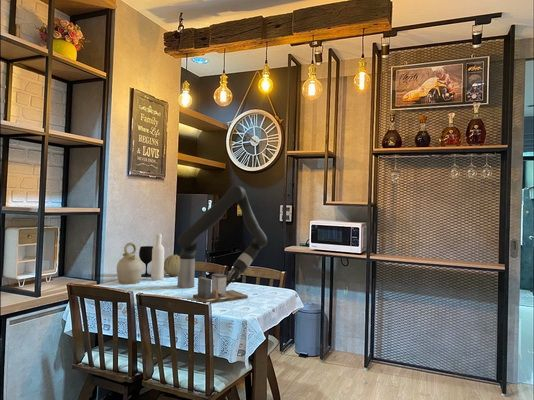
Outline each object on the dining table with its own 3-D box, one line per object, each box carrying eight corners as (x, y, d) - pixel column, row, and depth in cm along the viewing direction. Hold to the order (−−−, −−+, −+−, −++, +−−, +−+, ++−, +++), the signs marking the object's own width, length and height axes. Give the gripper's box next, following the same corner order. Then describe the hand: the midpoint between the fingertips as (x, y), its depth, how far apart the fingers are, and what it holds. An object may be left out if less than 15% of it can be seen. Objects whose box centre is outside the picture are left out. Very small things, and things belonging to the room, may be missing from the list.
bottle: (158, 277, 268) (160, 233, 268) (166, 279, 263) (167, 234, 263) (148, 279, 262) (150, 233, 262) (155, 281, 257) (157, 234, 257)
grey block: (219, 293, 220) (220, 273, 220) (228, 296, 212) (229, 276, 213) (211, 294, 217) (211, 274, 217) (220, 297, 209) (220, 277, 209)
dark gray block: (202, 295, 215) (203, 276, 215) (210, 298, 208) (211, 279, 208) (197, 295, 213) (198, 277, 213) (205, 299, 206) (206, 280, 206)
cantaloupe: (163, 278, 268) (163, 255, 268) (162, 274, 282) (163, 253, 282) (185, 277, 272) (186, 255, 272) (184, 273, 286) (184, 252, 286)
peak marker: (215, 297, 210) (216, 289, 210) (217, 297, 209) (218, 290, 209) (213, 297, 209) (214, 289, 210) (215, 298, 208) (216, 290, 208)
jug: (115, 280, 254) (116, 241, 254) (140, 279, 260) (141, 241, 261) (117, 285, 240) (118, 244, 240) (143, 284, 246) (145, 243, 247)
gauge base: (232, 292, 230) (232, 289, 230) (247, 298, 217) (247, 295, 217) (192, 297, 215) (192, 294, 215) (206, 304, 203) (207, 300, 203)
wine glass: (137, 277, 268) (138, 247, 268) (139, 274, 278) (140, 245, 278) (153, 277, 270) (154, 247, 270) (154, 274, 280) (155, 246, 281)
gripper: (232, 257, 229) (213, 280, 221) (245, 260, 218) (225, 284, 211) (240, 265, 232) (221, 289, 225) (253, 268, 221) (234, 293, 214)
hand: (223, 286), depth 218 cm, fingers closed
